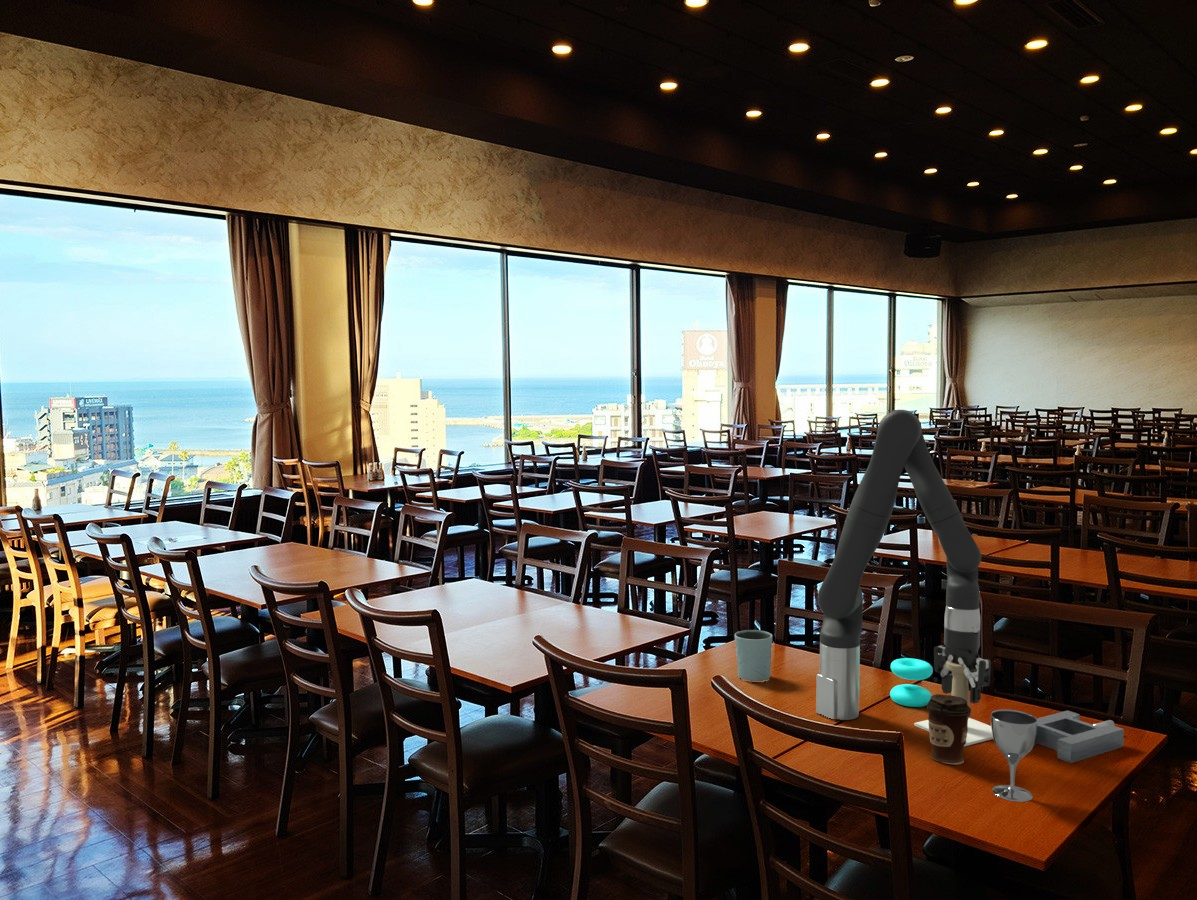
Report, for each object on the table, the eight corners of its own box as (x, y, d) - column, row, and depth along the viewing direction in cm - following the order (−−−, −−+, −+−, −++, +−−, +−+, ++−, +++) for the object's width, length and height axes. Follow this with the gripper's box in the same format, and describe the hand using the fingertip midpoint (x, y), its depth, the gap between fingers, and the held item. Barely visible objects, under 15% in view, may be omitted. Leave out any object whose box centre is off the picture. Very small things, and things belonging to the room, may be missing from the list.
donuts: (907, 670, 212) (882, 658, 222) (907, 710, 213) (881, 697, 222) (941, 666, 215) (915, 655, 225) (941, 706, 216) (914, 693, 225)
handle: (978, 729, 199) (979, 664, 198) (955, 733, 197) (956, 667, 196) (963, 722, 203) (964, 658, 203) (940, 725, 201) (941, 661, 200)
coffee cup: (948, 770, 178) (949, 708, 177) (916, 756, 185) (917, 696, 185) (977, 762, 182) (979, 701, 181) (945, 748, 189) (946, 689, 189)
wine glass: (981, 785, 171) (983, 710, 171) (1020, 783, 172) (1021, 708, 171) (1003, 803, 163) (1005, 725, 163) (1044, 801, 164) (1046, 723, 163)
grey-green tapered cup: (775, 683, 233) (775, 639, 233) (737, 683, 233) (737, 639, 233) (768, 672, 243) (768, 629, 243) (731, 672, 244) (732, 629, 243)
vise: (1070, 763, 182) (1071, 744, 181) (1015, 741, 193) (1015, 724, 193) (1139, 741, 193) (1140, 724, 192) (1083, 722, 204) (1083, 706, 204)
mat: (964, 746, 191) (964, 743, 191) (914, 725, 203) (914, 723, 203) (1007, 734, 197) (1007, 732, 197) (956, 715, 209) (956, 712, 209)
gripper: (925, 621, 203) (924, 691, 204) (977, 635, 191) (976, 710, 191) (947, 617, 207) (946, 686, 208) (1000, 631, 194) (999, 704, 195)
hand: (960, 697), depth 200 cm, fingers open, 7 cm apart
